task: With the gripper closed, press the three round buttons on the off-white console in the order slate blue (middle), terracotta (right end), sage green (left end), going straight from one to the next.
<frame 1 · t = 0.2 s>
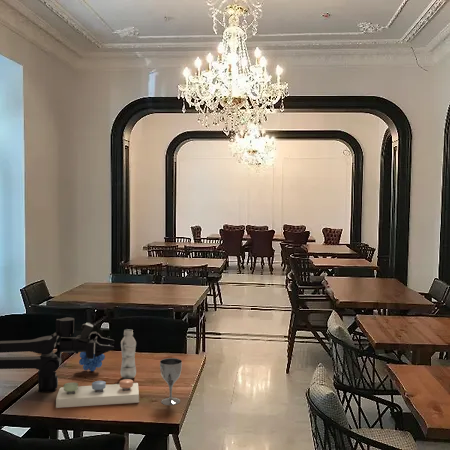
hand: (114, 344, 202), 17 cm above the table, tool horizontal, fingers open, 9 cm apart
button blue: (98, 389, 189), point 4 cm above the table, slide at 0.0 cm
console: (98, 398, 189), on the table
grapes: (92, 371, 220), on the table
button terracotta: (126, 387, 191), point 4 cm above the table, slide at 0.0 cm
button sage: (70, 390, 187), point 4 cm above the table, slide at 0.0 cm
plastic bottle: (128, 378, 212), on the table
wine glass: (170, 402, 187), on the table
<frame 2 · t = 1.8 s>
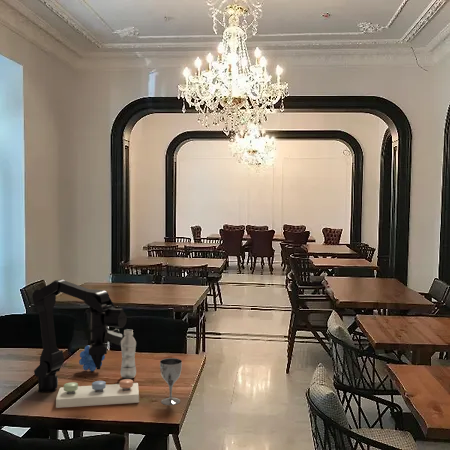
hand: (98, 366, 188), 12 cm above the table, tool pointing down, fingers open, 5 cm apart
nothing on the table moved.
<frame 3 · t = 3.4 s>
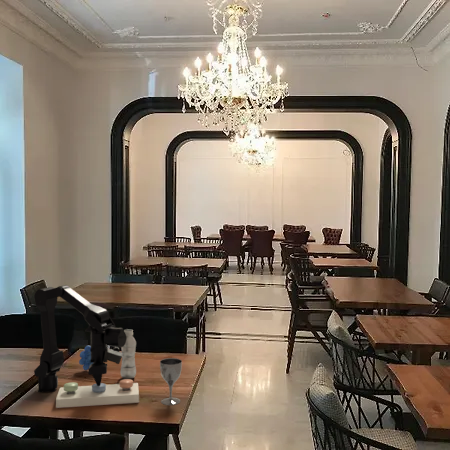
hand: (98, 385, 189), 5 cm above the table, tool pointing down, fingers closed, pressing on button blue
button blue: (98, 391, 189), point 3 cm above the table, slide at 0.9 cm, touching gripper
everything else where it was.
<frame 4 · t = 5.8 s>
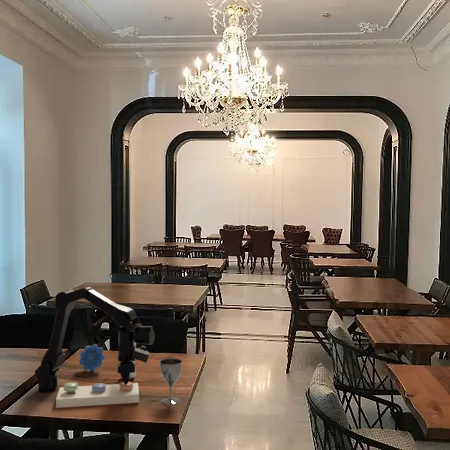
hand: (126, 384, 191), 5 cm above the table, tool pointing down, fingers closed, pressing on button terracotta
button blue: (98, 391, 189), point 3 cm above the table, slide at 0.9 cm
button terracotta: (126, 389, 191), point 3 cm above the table, slide at 0.9 cm, touching gripper
everything else where it was.
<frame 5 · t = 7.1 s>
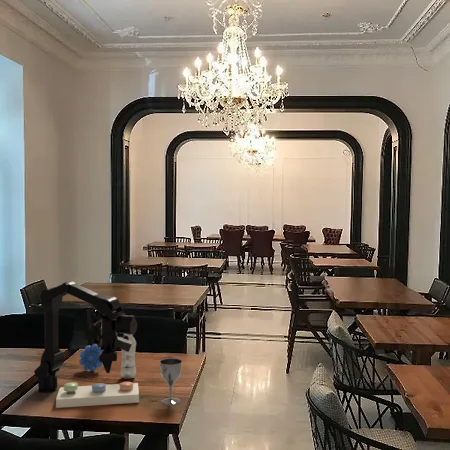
hand: (108, 372, 189), 9 cm above the table, tool pointing down, fingers closed
button terracotta: (126, 389, 191), point 3 cm above the table, slide at 0.9 cm
everything else where it was.
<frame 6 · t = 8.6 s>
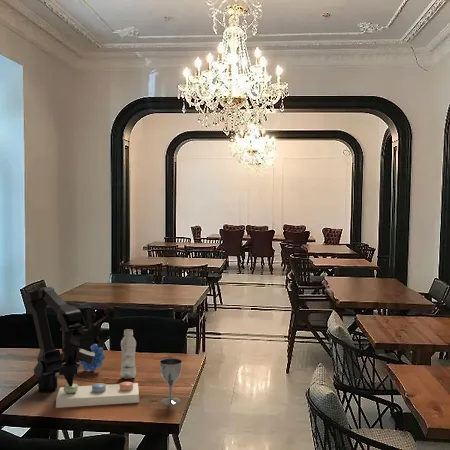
hand: (70, 385, 187), 5 cm above the table, tool pointing down, fingers closed, pressing on button sage
button sage: (70, 391, 187), point 3 cm above the table, slide at 0.5 cm, touching gripper
everything else where it was.
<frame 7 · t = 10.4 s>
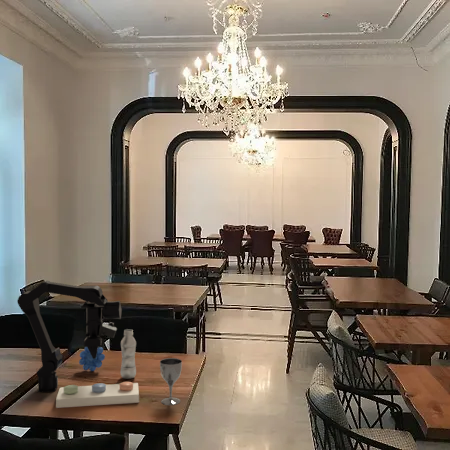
hand: (94, 358, 198), 12 cm above the table, tool pointing down, fingers closed
button sage: (70, 393, 187), point 3 cm above the table, slide at 1.0 cm
everything else where it was.
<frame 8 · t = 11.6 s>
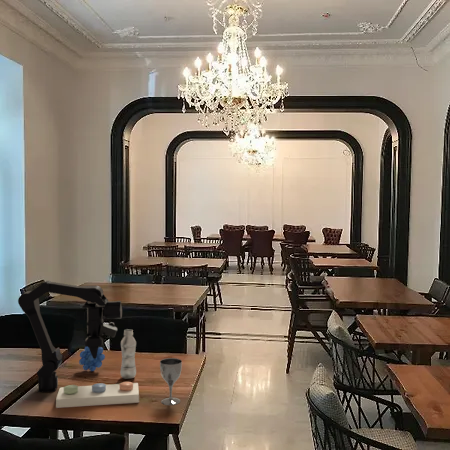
hand: (94, 358, 199), 12 cm above the table, tool pointing down, fingers closed
nothing on the table moved.
at the end: button blue slide at 0.9 cm; button terracotta slide at 0.9 cm; button sage slide at 1.0 cm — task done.
